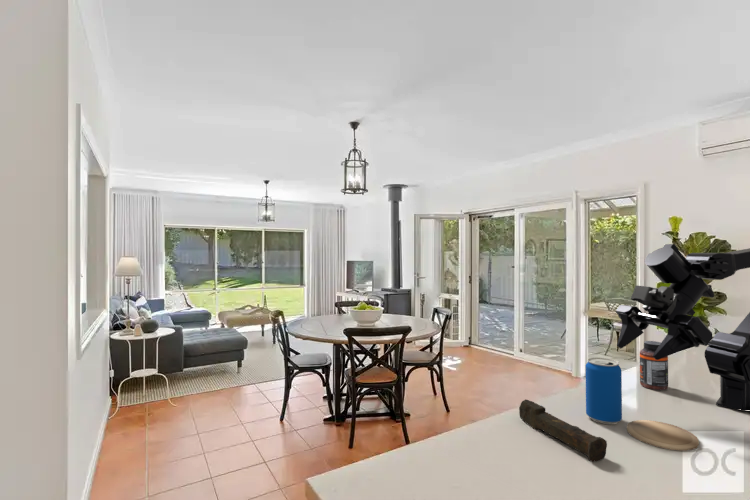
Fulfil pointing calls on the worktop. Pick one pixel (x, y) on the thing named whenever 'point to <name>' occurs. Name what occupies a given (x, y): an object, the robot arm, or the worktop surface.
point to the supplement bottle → (653, 367)
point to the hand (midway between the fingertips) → (635, 352)
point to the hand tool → (563, 431)
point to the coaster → (662, 435)
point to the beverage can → (604, 390)
